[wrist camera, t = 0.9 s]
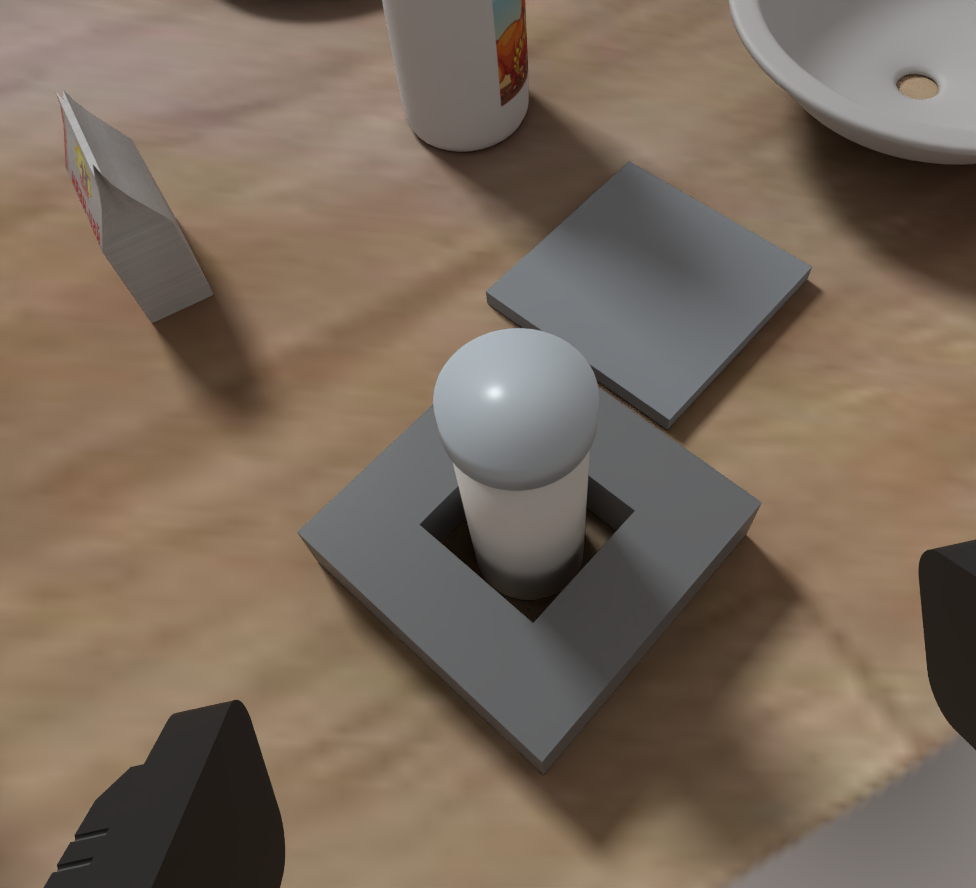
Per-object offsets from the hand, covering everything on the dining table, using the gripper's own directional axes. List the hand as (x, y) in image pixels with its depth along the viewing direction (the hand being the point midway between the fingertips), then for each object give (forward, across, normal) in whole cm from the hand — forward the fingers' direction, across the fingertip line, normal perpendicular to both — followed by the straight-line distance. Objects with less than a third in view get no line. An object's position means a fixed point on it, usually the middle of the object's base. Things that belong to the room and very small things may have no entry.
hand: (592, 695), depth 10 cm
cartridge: (+29, 0, +9) cm, 30 cm away
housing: (+29, 0, +9) cm, 30 cm away
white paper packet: (+43, +16, -6) cm, 47 cm away
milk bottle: (+49, -3, -12) cm, 50 cm away
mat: (+38, -10, 0) cm, 39 cm away
